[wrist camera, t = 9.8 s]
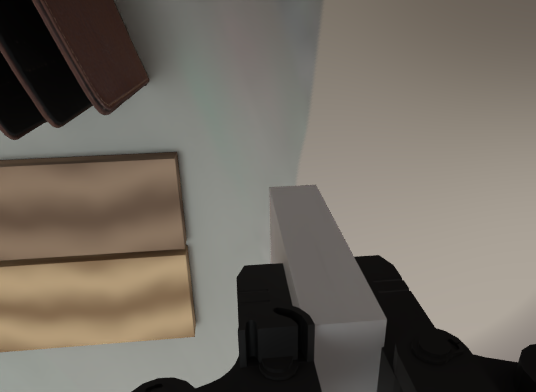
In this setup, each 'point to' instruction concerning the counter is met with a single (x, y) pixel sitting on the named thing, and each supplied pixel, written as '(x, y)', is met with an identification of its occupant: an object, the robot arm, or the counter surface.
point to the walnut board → (90, 205)
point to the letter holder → (63, 62)
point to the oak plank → (95, 299)
